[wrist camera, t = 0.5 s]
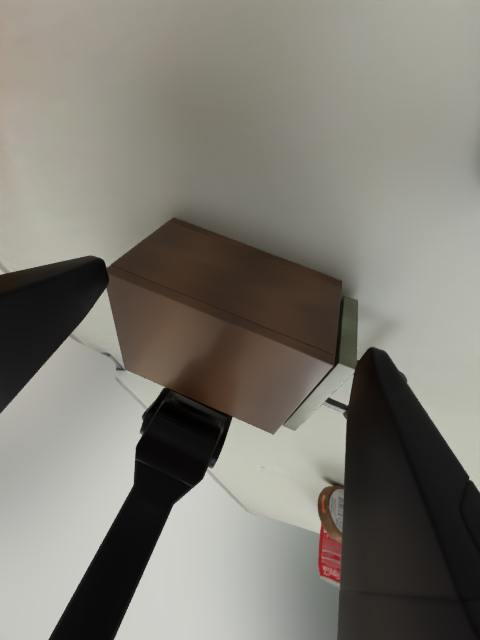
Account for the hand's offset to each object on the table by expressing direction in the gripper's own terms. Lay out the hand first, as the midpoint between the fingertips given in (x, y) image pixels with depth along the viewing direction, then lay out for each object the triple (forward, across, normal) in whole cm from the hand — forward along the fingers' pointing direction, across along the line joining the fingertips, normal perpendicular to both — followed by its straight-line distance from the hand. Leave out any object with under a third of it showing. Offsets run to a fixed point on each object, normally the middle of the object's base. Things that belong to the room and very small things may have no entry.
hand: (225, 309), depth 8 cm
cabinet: (+14, +3, +11) cm, 18 cm away
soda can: (+15, -30, +69) cm, 77 cm away
